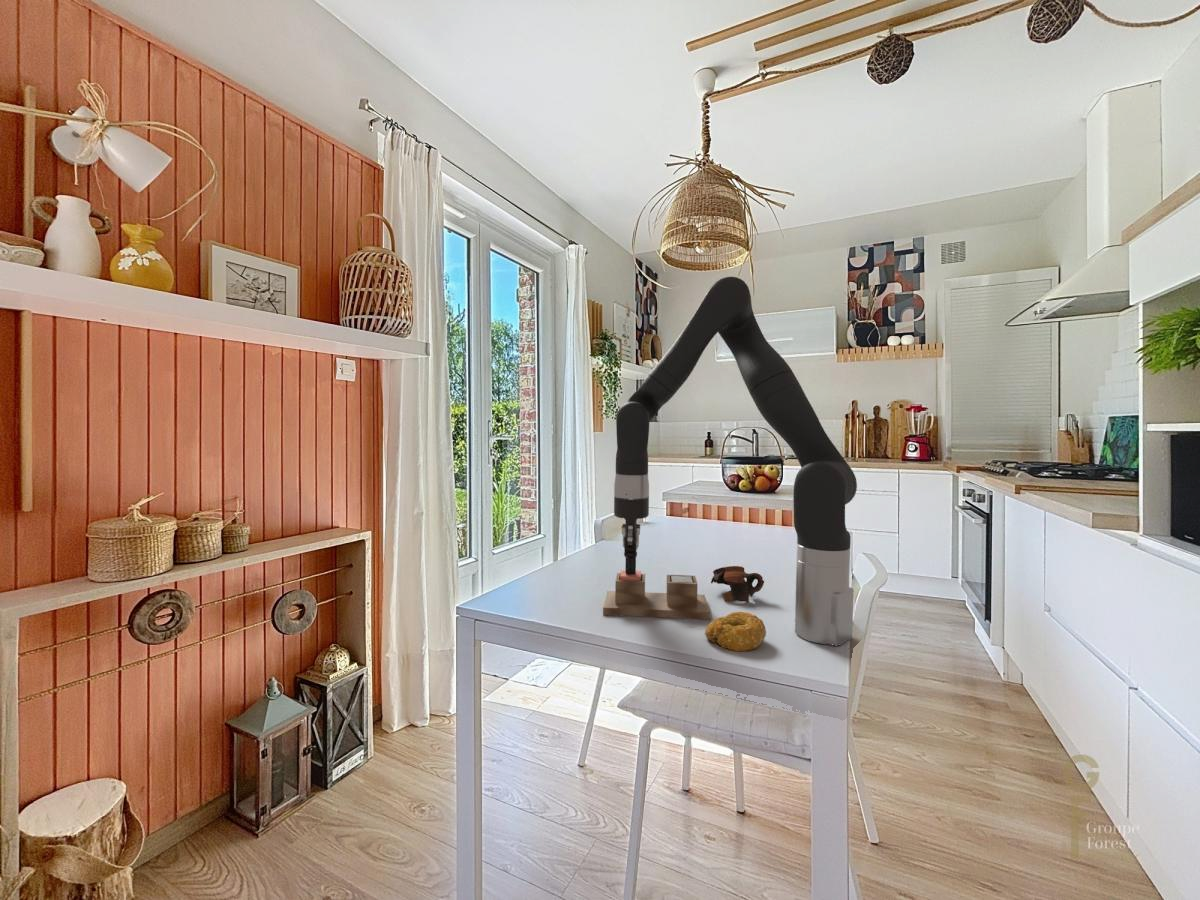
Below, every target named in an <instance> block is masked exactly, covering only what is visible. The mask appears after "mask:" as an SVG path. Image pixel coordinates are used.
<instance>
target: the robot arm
mask: <svg viewBox="0 0 1200 900" xmlns="http://www.w3.org/2000/svg"><path fill="white" fill-rule="evenodd" d="M752 306H753V305H752V296H751V292H750V289H749V286H748V284H747V283H746V282H745V281H744V280H743V279H741V278H739V277H737V276H726V277H722V278H720V279H719V280H717V281H716V282H714V283H713V284H712V285H711V286H710V288H709V289H708V291H707V292H706V293H705V296H704V297H703V299H702V300H701V302H700V303H699V305H698V307H697V309H696V310H695V312H694V313H693V315H692V317H691V318H690V319H689V321H688V323H687V324H686V325H685V327H684V329H683V330H682V332H681V333H680V334H679V336H678V337H677V338H676V340H675V341H674V343H672V345H671V347H670V348H668V350H667V351H666V353H665V354H664V355H663V356H662V358H661V359H660V360H659V361H658V362H657V363H656V364H655V366H654V367H653V368H652V369H651V371H650V372H649V373H648V374H647V376H645V378H644V380H643V381H642V383H641V385H640V386H639V387H638V389H636V391H634V393H633V394H632V395H631V396H630V397H629V399H627V400H626V401H625V403H623V405H621V407H619V408H618V410H617V412H616V414H615V415H616V416H615V421H616V422H615V425H616V427H615V429H616V449H617V450H616V452H615V453H616V454H615V475H614V476H615V478H614V484H613V485H614V487H613V489H614V490H613V492H614V493H613V498H614V499H613V510H614V511H613V514H614V516H615V517H616V518H619V519H624V520H625V521H624V522H625V523H622V525H621V534H622V547H623V548H624V552H623V556H624V558H625V570H624V571H625V573H626V574H632V575H634V574H635V573H636V571H637V556H638V548H639V546H640V545H639V544H640V535H641V524H639V523H637V522H638V521H637V520H638V519H641V520H642V519H646V518H648V517H649V513H650V504H649V503H650V480H649V454H648V453H649V451H648V447H649V446H648V445H649V435H650V422H651V421H652V420H653V419H654V417H655V416H656V415H657V414H658V412H659V411H660V410H661V408H662V407H663V406H664V405H665V404H667V403H668V402H669V401H670V400H671V399H672V398H673V397H674V395H675V394H676V393H678V390H679V389H681V387H682V386H683V385H684V384H685V382H686V381H687V380H688V378H690V376H691V374H692V372H693V371H694V368H695V367H696V365H697V363H698V362H699V360H700V359H701V356H702V355H703V353H704V351H705V349H706V348H707V347H708V345H709V344H710V342H711V341H713V338H714V337H715V336H716V334H719V335H720V337H721V338H722V341H724V343H725V344H726V346H727V347H728V349H729V350H730V352H731V354H732V356H733V358H734V360H735V362H736V364H737V368H738V370H739V372H740V376H741V377H742V381H743V382H744V384H745V386H746V388H747V390H748V393H749V394H750V397H751V399H752V400H753V403H754V404H755V406H756V408H757V410H758V412H759V413H760V414H761V416H762V417H763V419H764V420H765V422H767V423H768V424H769V426H770V427H771V428H772V429H773V430H774V431H775V433H777V434H778V435H779V436H780V437H781V438H782V439H783V441H785V443H786V444H787V445H788V446H789V447H790V449H791V450H792V452H793V454H794V456H795V457H796V459H797V461H798V463H799V465H800V467H801V468H800V469H799V470H798V472H797V473H796V475H795V479H794V483H793V493H792V494H793V499H792V500H793V525H794V526H793V527H794V529H795V533H796V538H797V539H796V540H797V541H796V567H795V568H796V571H795V573H796V574H795V576H796V577H795V578H796V579H795V607H794V609H795V610H794V611H795V613H794V614H795V615H794V616H795V617H794V632H795V634H796V635H797V636H798V637H800V638H801V639H804V640H806V641H809V642H813V643H817V644H821V645H822V644H823V645H830V644H833V645H832V646H834V645H835V646H834V647H839V646H840V645H842V644H844V643H845V642H848V641H850V640H851V639H853V626H854V625H853V623H854V621H853V620H854V618H853V617H854V616H853V615H854V594H855V593H854V588H853V587H851V586H850V566H851V565H850V562H851V560H850V558H851V534H850V531H848V530H847V526H846V505H847V504H849V503H850V502H851V501H853V499H854V498H855V496H856V493H857V489H858V481H857V478H856V475H855V473H854V471H853V469H852V468H851V467H850V465H849V463H848V462H847V461H846V459H845V458H844V456H843V455H842V454H841V453H840V451H839V450H838V449H837V447H836V446H835V444H834V443H833V442H832V440H831V439H830V437H829V436H828V434H827V433H826V431H825V430H824V427H823V426H822V424H821V423H822V422H820V420H819V418H818V415H817V414H816V411H815V410H814V407H813V406H812V404H811V402H810V401H809V399H808V398H807V395H806V394H805V391H804V389H803V387H802V386H801V384H800V382H799V380H798V378H797V377H796V375H795V373H794V372H793V369H792V368H791V367H790V365H789V363H787V362H786V360H785V359H784V358H783V356H782V355H780V353H779V352H778V351H776V350H775V348H773V346H772V345H771V344H770V343H769V342H768V341H767V339H766V338H765V336H764V334H763V332H762V330H761V328H760V326H759V324H758V322H757V319H756V316H755V313H754V311H753V307H752ZM847 640H848V641H847ZM838 645H839V646H838Z"/></svg>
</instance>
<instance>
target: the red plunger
mask: <svg viewBox="0 0 1200 900" xmlns="http://www.w3.org/2000/svg"><path fill="white" fill-rule="evenodd" d="M620 573H621V574H620V580H625V581H641V574H642V571H640V570H636V573H635V574H634V575H632V574H626V573H625V570H620Z"/></svg>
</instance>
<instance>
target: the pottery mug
mask: <svg viewBox="0 0 1200 900" xmlns="http://www.w3.org/2000/svg"><path fill="white" fill-rule="evenodd" d="M712 573H713V576H712V578H711V581H710V584H713V583H716V584H717V585H726V586H729V588H730V590H728V591H724V592H722V596H723V600H724V602H725V603H730V602H731V603H732V602H739V603H741V602H742V603H743V602H747V603H748V602H749V599H750V597H751V598H753V597H754V595H755V593H759V592H760V591H761V590H762V589H763V587H764V584H765V580H764V579H763V576H762V575H761V574H760V573H759V572H758V573H757V572H751V573H747V572H746V571H745V567H743V566H739V565H732V566H731V565H730V566H723V567H719V568H716V569H714V570H713V571H712ZM745 578H746V579H745ZM755 580H757V583H756V584H755V586H753V582H754V581H755Z"/></svg>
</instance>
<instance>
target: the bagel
mask: <svg viewBox="0 0 1200 900" xmlns="http://www.w3.org/2000/svg"><path fill="white" fill-rule="evenodd" d="M704 635H705V637H706V639H707V640H709V642H712V643H715V644H718V645H719V646H721V647H722V648H724V649H727V648H728V649H729V650H730V651H734V650H735V651H734V652H744V651H745V652H746V650H748V651H750V650H755V649H756V648H758V647H759V646H761V644H762V643H763V641H764V640H765V637H766V636H767V630H766V626H765V623H764V621H763V620H762V619H761V618H759V617H758V616H757V615H756V614H754V613H753V614H752V613H750V612H745V611H734V612H731V613H729V614H726V615H725V616H721V617H717V618H715V619H713V620H712V621H711V622H710V623H708V625H707V626H706V628H705V630H704Z"/></svg>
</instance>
